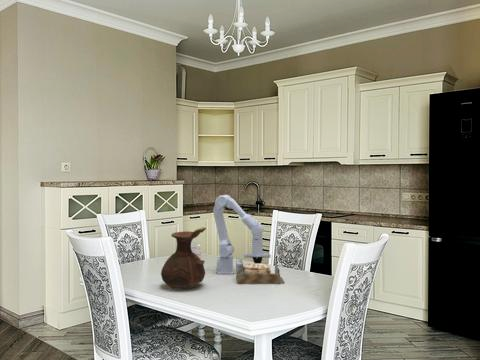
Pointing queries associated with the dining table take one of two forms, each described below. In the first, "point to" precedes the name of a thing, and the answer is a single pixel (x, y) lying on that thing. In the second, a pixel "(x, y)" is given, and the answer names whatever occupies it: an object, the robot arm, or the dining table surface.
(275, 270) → the bookend
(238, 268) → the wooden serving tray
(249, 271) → the trinket box
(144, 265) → the dining table surface
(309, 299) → the dining table surface
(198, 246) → the ink box
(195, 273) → the jug
